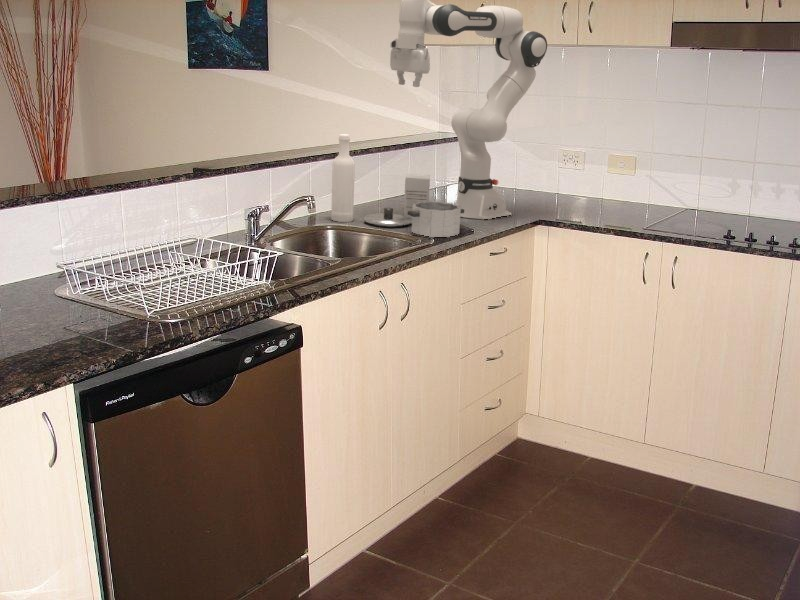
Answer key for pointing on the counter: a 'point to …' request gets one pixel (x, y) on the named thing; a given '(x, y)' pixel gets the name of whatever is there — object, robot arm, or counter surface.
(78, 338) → the counter surface
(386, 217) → the lid
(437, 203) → the pot
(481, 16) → the robot arm
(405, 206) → the supplement box
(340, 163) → the bottle
